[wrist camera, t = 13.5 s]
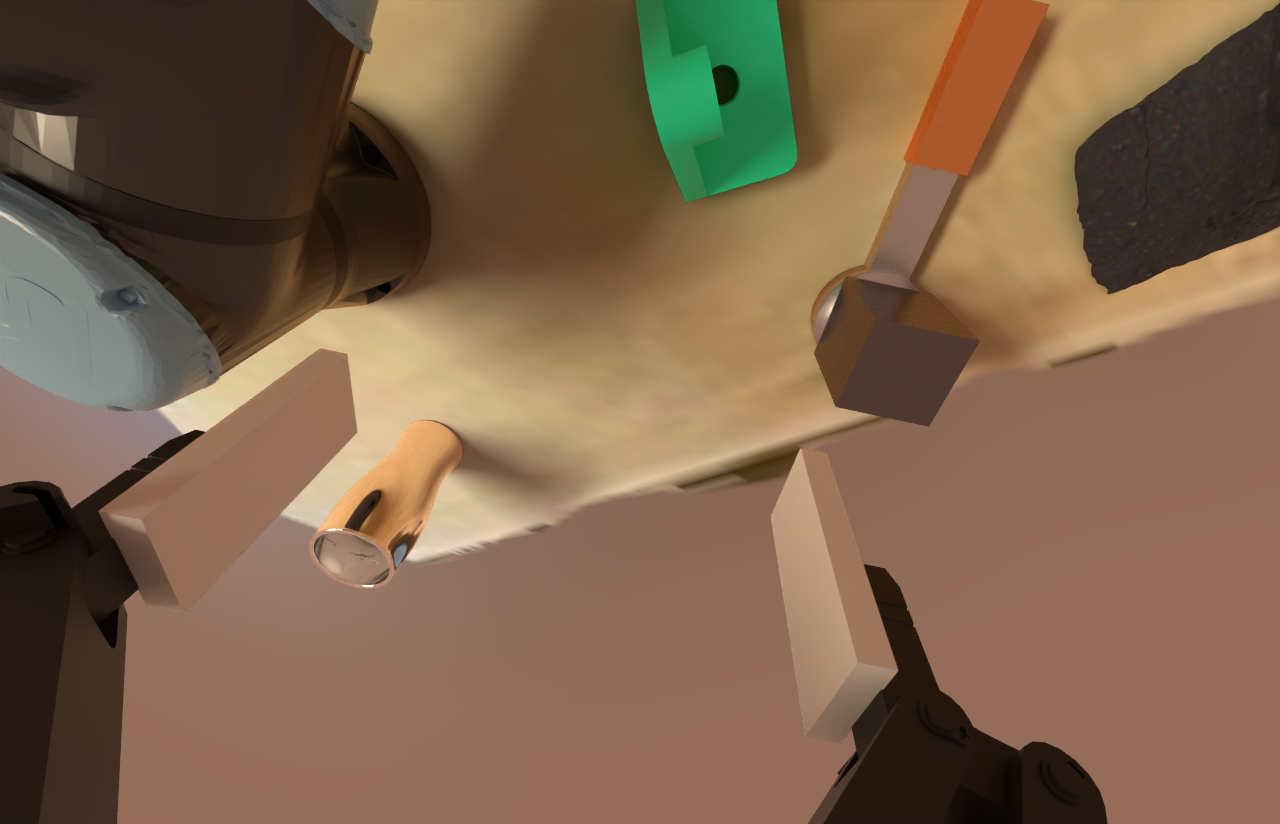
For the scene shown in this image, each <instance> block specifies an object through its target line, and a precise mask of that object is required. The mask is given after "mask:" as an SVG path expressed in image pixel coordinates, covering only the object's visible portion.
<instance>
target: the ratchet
mask: <svg viewBox="0 0 1280 824" xmlns="http://www.w3.org/2000/svg"><path fill="white" fill-rule="evenodd" d="M1049 5H1050V4H1045V3H1041V2H1037V1H1032V0H969V2H968V5H967V7H966V10H965V12H964V15H963V17H962V19H961V22H960V24H959V27H958V29H957V31H956V34H955V36H954V39H953V41H952V43H951V46H950V48H949V51H948V53H947V56H946V58H945V60H944V63H943V65H942V68H941V70H940V72H939V75H938V77H937V80H936V82H935V84H934V87H933V89H932V92H931V94H930V97H929V99H928V101H927V104H926V106H925V109H924V111H923V113H922V116H921V118H920V121H919V123H918V125H917V128H916V130H915V133H914V135H913V138H912V140H911V142H910V145H909V147H908V150H907V152H906V154H905V157H904V159H903V160H905V161H907V163H906V166H905V168H904V170H903V173H902V175H901V178H900V180H899V182H898V185H897V187H896V190H895V192H894V194H893V197H892V199H891V201H890V204H889V206H888V209H887V211H886V213H885V216H884V218H883V221H882V223H881V225H880V228H879V230H878V232H877V235H876V237H875V240H874V242H873V244H872V247H871V249H870V252H869V254H868V256H867V259H866V261H865V263H864V265H862V266H858V267H854V268H852V269H849V270H847V271H845V272H843V273H841V274H839V275H838V276H836V277H835V278H834V279H832V280H831V281H830V282H829V283H828V284H827V285H826V286H825V287H824V288H823V289H822V291H821V292H820V293H819V295H818V297H817V298H816V301H815V303H814V305H813V308H812V313H811V329H812V332H813V335H814V338H815V340H816V342H817V345H818V343H819V340H820V338H821V335H822V333H823V330H824V328H825V326H826V323H827V321H828V318H829V316H830V313H831V311H832V309H833V306H834V304H835V301H836V299H837V296H838V294H839V291H840V289H841V287H842V284H843V282H844V279H845V277H846V276H850V277H855V278H859V279H864V280H869V281H873V282H878V283H882V284H887V285H892V286H896V287H901V288H906V289H910V290H915V291H919V289H918V288H917V287H916V286H915V285H914V284H913V283H912V282H911V281H910V280H909V279H910V277H911V275H912V273H913V271H914V269H915V266H916V264H917V262H918V260H919V258H920V256H921V254H922V252H923V250H924V247H925V245H926V243H927V241H928V239H929V237H930V235H931V233H932V231H933V228H934V226H935V224H936V222H937V220H938V218H939V216H940V214H941V212H942V209H943V207H944V205H945V203H946V201H947V199H948V197H949V195H950V193H951V190H952V188H953V186H954V184H955V182H956V180H957V178H958V176H959V174H960V175H965V176H967V175H968V173H969V171H970V169H971V167H972V165H973V163H974V161H975V158H976V156H977V154H978V152H979V150H980V148H981V146H982V144H983V142H984V140H985V138H986V136H987V134H988V131H989V129H990V127H991V125H992V123H993V121H994V119H995V117H996V115H997V113H998V111H999V109H1000V107H1001V104H1002V102H1003V100H1004V98H1005V96H1006V94H1007V92H1008V90H1009V88H1010V86H1011V84H1012V82H1013V80H1014V78H1015V75H1016V73H1017V71H1018V69H1019V67H1020V65H1021V63H1022V61H1023V59H1024V57H1025V55H1026V53H1027V51H1028V48H1029V46H1030V44H1031V42H1032V40H1033V38H1034V36H1035V34H1036V32H1037V30H1038V28H1039V26H1040V24H1041V21H1042V19H1043V17H1044V15H1045V13H1046V11H1047V9H1048V7H1049ZM919 292H920V291H919Z"/></svg>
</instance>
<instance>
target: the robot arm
mask: <svg viewBox="0 0 1280 824" xmlns="http://www.w3.org/2000/svg"><path fill="white" fill-rule="evenodd" d="M378 1H379V0H0V365H1V366H2V367H4V368H6V369H7V370H9V371H10V372H12V373H14V374H16V375H17V376H19V377H21V378H22V379H24V380H26V381H28V382H30V383H32V384H34V385H36V386H38V387H40V388H42V389H44V390H46V391H48V392H50V393H53V394H55V395H58V396H60V397H62V398H65V399H68V400H70V401H73V402H76V403H79V404H83V405H86V406H90V407H94V408H98V409H104V410H109V411H125V412H127V411H134V410H141V411H148V410H154V409H158V408H161V407H164V406H166V405H169V404H171V403H173V402H175V401H177V400H179V399H181V398H183V397H185V396H187V395H189V394H192V393H194V392H196V391H198V390H200V389H203V388H207V387H208V386H210V385H212V384H214V383H216V381H218V380H219V378H220V376H221V375H223V374H224V373H226V372H227V371H229V370H230V369H232V368H234V367H235V366H237V365H238V364H240V363H241V362H243V361H244V360H246V359H247V358H249V357H250V356H252V355H254V354H255V353H257V352H258V351H260V350H261V349H263V348H264V347H266V346H267V345H269V344H270V343H272V342H274V341H275V340H277V339H278V338H280V337H281V336H283V335H284V334H286V333H287V332H289V331H290V330H292V329H294V328H295V327H297V326H298V325H300V324H301V323H303V322H304V321H306V320H307V319H309V318H310V317H312V316H313V315H315V314H316V313H318V312H319V311H321V310H325V309H334V308H344V307H353V306H362V305H367V304H371V303H374V302H377V301H380V300H382V299H384V298H386V297H388V296H390V295H391V294H393V293H394V292H396V291H397V290H399V289H400V288H401V287H403V286H404V285H405V284H407V283H408V282H409V281H410V280H411V279H412V278H413V277H414V276H415V275H416V273H417V272H418V271H419V269H420V268H421V266H422V264H423V262H424V260H425V257H426V254H427V252H428V247H429V243H430V235H431V219H430V211H429V205H428V201H427V197H426V193H425V190H424V187H423V185H422V182H421V180H420V177H419V175H418V173H417V171H416V169H415V167H414V165H413V164H412V162H411V160H410V159H409V157H408V155H407V154H406V152H405V151H404V150H403V148H402V147H401V146H400V144H399V143H398V142H397V141H396V139H395V138H394V137H393V136H392V135H391V134H390V133H389V132H388V131H387V130H386V129H385V128H384V127H383V126H382V125H381V124H380V123H379V122H378V121H377V120H375V119H374V118H373V117H372V116H370V115H369V114H368V113H366V112H365V111H363V110H362V109H360V108H359V107H357V106H355V105H354V104H352V103H350V101H351V98H352V95H353V92H354V89H355V86H356V83H357V79H358V76H359V73H360V70H361V67H362V64H363V61H364V58H365V55H366V53H367V54H370V53H371V50H372V42H373V41H372V39H371V37H370V33H371V28H372V24H373V20H374V17H375V13H376V9H377V5H378ZM356 433H357V426H356V418H355V410H354V403H353V395H352V388H351V380H350V373H349V365H348V357H347V354H345V353H340V352H335V351H330V350H325V349H321V348H320V349H319V350H317V351H316V352H315V353H313V354H312V355H310V356H309V357H308V358H306V359H305V360H304V361H302V362H301V363H300V364H298V365H297V366H295V367H294V368H293V369H291V370H290V371H289V372H287V373H286V374H285V375H283V376H282V377H280V378H279V379H278V380H276V381H275V382H274V383H272V384H271V385H270V386H268V387H267V388H265V389H264V390H263V391H261V392H260V393H259V394H257V395H256V396H255V397H253V398H252V399H250V400H249V401H248V402H246V403H245V404H244V405H242V406H241V407H240V408H238V409H237V410H235V411H234V412H233V413H231V414H230V415H229V416H227V417H226V418H224V419H223V420H222V421H220V422H219V423H218V424H216V425H215V426H214V427H212V428H211V429H209V430H208V431H207V432H204V431H199V430H194V431H191V432H189V433H186V434H184V435H182V436H179V437H177V438H174V439H172V440H169V441H168V442H166V443H165V444H163V445H162V446H161V447H159V448H158V449H156V450H155V451H153V452H152V453H151V454H149V455H148V458H147V459H146V458H143V459H142V460H140V461H139V462H137V463H136V464H135V465H133V466H132V467H131V470H126V471H125V472H123V473H122V474H120V475H119V476H117V477H116V478H115V479H113V480H112V481H111V482H109V483H107V484H106V485H105V486H103V487H102V488H100V489H99V490H97V491H96V492H95V493H93V494H92V495H90V496H89V497H87V498H86V499H85V500H83V501H82V502H80V503H79V504H77V505H76V506H75V507H73V508H72V509H71V507H70V505H69V503H68V502H67V500H66V498H65V496H64V494H63V492H62V491H61V489H60V487H57V486H56V485H54V484H52V483H49V482H41V481H27V482H17V483H12V484H8V485H5V486H0V824H117V811H118V809H117V808H118V792H119V771H120V752H121V732H122V712H123V692H124V672H125V670H124V669H125V651H126V650H125V649H126V632H127V631H126V630H127V612H126V609H125V606H124V604H123V603H124V602H125V601H126V600H127V599H128V598H129V597H130V596H131V595H132V594H133V593H134V592H136V591H137V590H139V592H140V594H141V596H142V598H143V600H144V602H145V604H146V606H147V607H148V608H152V609H157V610H162V611H167V612H172V613H177V614H182V615H185V614H186V613H187V612H188V611H189V610H190V608H192V607H193V605H194V604H195V603H196V602H197V601H198V600H199V599H200V598H201V597H202V596H203V595H204V594H205V593H206V592H207V591H208V590H209V589H210V588H211V586H212V585H213V584H214V583H215V582H216V581H217V580H218V579H219V578H220V577H221V576H222V575H223V573H225V572H226V570H228V568H229V567H230V566H231V565H232V564H233V563H234V562H235V561H236V560H237V559H238V558H239V557H240V556H241V555H242V554H243V553H244V551H246V549H247V548H248V547H249V546H250V545H251V544H252V543H253V542H254V541H255V540H256V539H257V538H258V537H259V536H260V535H261V533H263V531H264V530H265V529H266V528H267V527H268V526H269V525H270V524H271V523H272V522H273V521H274V520H275V519H276V518H277V517H278V516H279V515H280V514H281V512H282V511H283V510H284V509H285V508H286V507H287V506H288V505H289V504H290V503H291V502H292V501H293V500H294V499H295V498H296V497H297V496H298V494H299V493H300V492H301V491H302V490H303V489H304V488H305V487H306V486H307V485H308V484H309V483H310V482H311V481H312V480H313V479H314V478H315V477H316V475H317V474H318V473H319V472H320V471H321V470H322V469H323V468H324V467H325V466H326V465H327V464H328V463H329V462H330V461H331V460H332V459H333V457H334V456H335V455H336V454H337V453H338V452H339V451H340V450H341V449H342V448H343V447H344V446H345V445H346V444H347V443H348V442H349V441H350V440H351V438H352V437H353V436H354V435H355V434H356ZM771 522H772V528H773V535H774V541H775V547H776V554H777V560H778V566H779V573H780V579H781V585H782V592H783V598H784V605H785V611H786V617H787V624H788V630H789V637H790V643H791V649H792V655H793V661H794V668H795V675H796V680H797V687H798V694H799V700H800V707H801V713H802V719H803V725H804V732H805V737H809V738H813V739H819V740H824V741H829V742H834V743H839V744H841V743H842V741H843V740H844V739H845V738H846V736H847V735H848V734H849V733H850V731H851V730H852V732H853V736H854V741H855V745H856V749H857V750H856V751H855V752H854V754H853V755H852V756H851V757H850V758H849V760H848V761H847V762H846V763H845V765H844V766H843V767H842V768H841V770H840V771H839V772H838V774H839V776H838V778H837V780H836V781H835V783H834V784H833V786H832V787H831V789H830V790H829V792H828V793H827V795H826V797H825V798H824V800H823V801H822V803H821V804H820V806H819V807H818V809H817V810H816V812H815V814H814V815H813V817H812V818H811V820H810V821H809V823H808V824H1107V817H1106V810H1105V805H1104V803H1103V799H1102V796H1101V793H1100V791H1099V789H1098V788H1097V786H1096V785H1095V783H1094V781H1093V780H1092V778H1091V777H1090V775H1089V774H1088V773H1087V772H1086V771H1085V770H1084V769H1083V768H1082V767H1081V766H1080V765H1079V764H1078V763H1077V762H1076V760H1074V759H1073V758H1071V757H1070V756H1069V755H1067V754H1066V753H1065V752H1063V751H1062V750H1060V749H1059V748H1057V747H1054V746H1052V745H1050V744H1047V743H1045V742H1031V743H1029V744H1028V745H1026V746H1024V747H1023V748H1022V749H1021V750H1020V751H1019V750H1017V749H1014V748H1013V747H1011V746H1008V745H1007V744H1005V743H1003V742H1001V741H999V740H997V739H995V738H993V737H991V736H989V735H987V734H985V733H983V732H981V731H979V730H978V729H976V728H974V727H973V726H972V723H971V722H970V720H969V718H968V717H967V715H966V714H965V712H964V711H963V709H962V708H961V707H960V706H959V705H958V704H957V703H956V702H955V701H954V700H953V699H952V698H951V697H949V696H948V695H946V694H945V693H943V692H941V691H940V690H939V688H938V685H937V683H936V680H935V678H934V675H933V673H932V670H931V667H930V665H929V662H928V659H927V657H926V654H925V652H924V649H923V647H922V644H921V641H920V639H919V636H918V633H917V631H916V628H915V627H913V621H912V618H911V615H910V613H909V611H907V605H906V602H905V600H904V597H903V594H902V592H901V589H900V587H899V586H898V584H897V583H896V582H895V581H894V579H893V578H892V577H891V576H890V574H889V573H888V572H887V570H886V569H885V568H880V567H875V566H870V565H866V564H863V562H862V559H861V556H860V553H859V550H858V547H857V544H856V541H855V538H854V534H853V531H852V529H851V525H850V522H849V519H848V516H847V513H846V510H845V507H844V504H843V501H842V498H841V495H840V492H839V489H838V486H837V483H836V480H835V477H834V474H833V471H832V468H831V465H830V461H829V458H828V455H827V453H824V452H819V451H814V450H809V449H804V448H800V451H799V453H798V455H797V457H796V460H795V462H794V464H793V467H792V469H791V471H790V473H789V476H788V478H787V480H786V483H785V485H784V487H783V489H782V492H781V494H780V496H779V499H778V501H777V503H776V505H775V508H774V510H773V512H772V515H771Z"/></svg>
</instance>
